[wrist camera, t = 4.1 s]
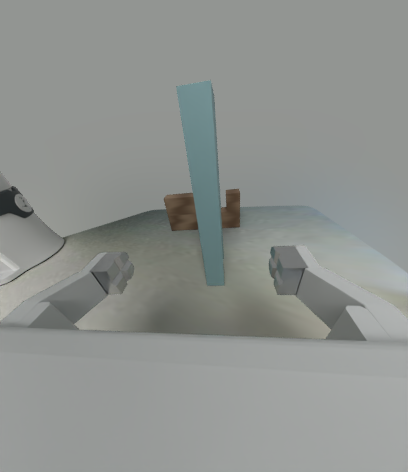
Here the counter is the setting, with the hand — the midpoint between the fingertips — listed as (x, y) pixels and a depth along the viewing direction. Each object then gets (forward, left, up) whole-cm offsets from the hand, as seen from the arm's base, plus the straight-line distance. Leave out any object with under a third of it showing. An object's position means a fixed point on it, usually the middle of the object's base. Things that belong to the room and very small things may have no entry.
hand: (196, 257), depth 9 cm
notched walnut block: (+10, +24, -13) cm, 29 cm away
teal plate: (+6, +11, -13) cm, 18 cm away
